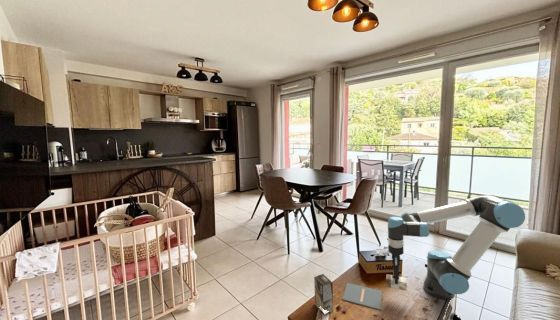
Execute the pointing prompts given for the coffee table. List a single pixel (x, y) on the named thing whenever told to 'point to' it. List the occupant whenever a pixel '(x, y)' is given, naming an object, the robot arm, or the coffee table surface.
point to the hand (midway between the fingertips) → (396, 285)
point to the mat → (363, 296)
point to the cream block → (391, 282)
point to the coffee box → (323, 292)
